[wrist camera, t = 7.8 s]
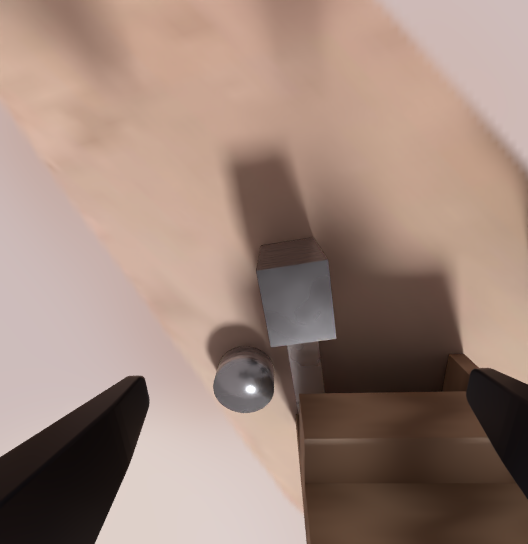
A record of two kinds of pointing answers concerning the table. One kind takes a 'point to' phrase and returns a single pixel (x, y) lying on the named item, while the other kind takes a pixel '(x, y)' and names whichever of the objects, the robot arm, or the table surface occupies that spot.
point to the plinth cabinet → (405, 469)
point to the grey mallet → (298, 307)
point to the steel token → (244, 380)
